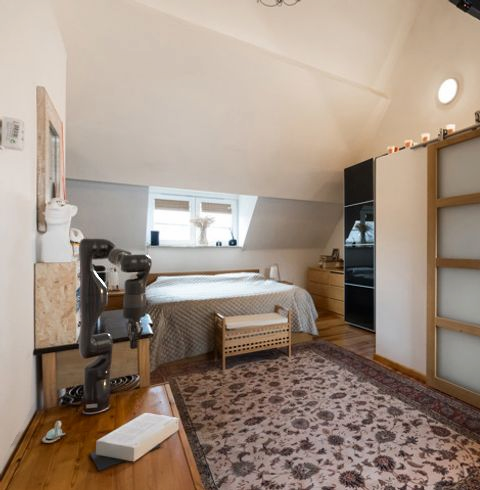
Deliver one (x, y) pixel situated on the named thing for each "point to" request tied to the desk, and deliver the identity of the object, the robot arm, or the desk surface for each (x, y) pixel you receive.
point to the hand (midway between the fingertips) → (133, 348)
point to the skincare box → (137, 436)
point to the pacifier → (54, 433)
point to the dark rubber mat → (109, 460)
